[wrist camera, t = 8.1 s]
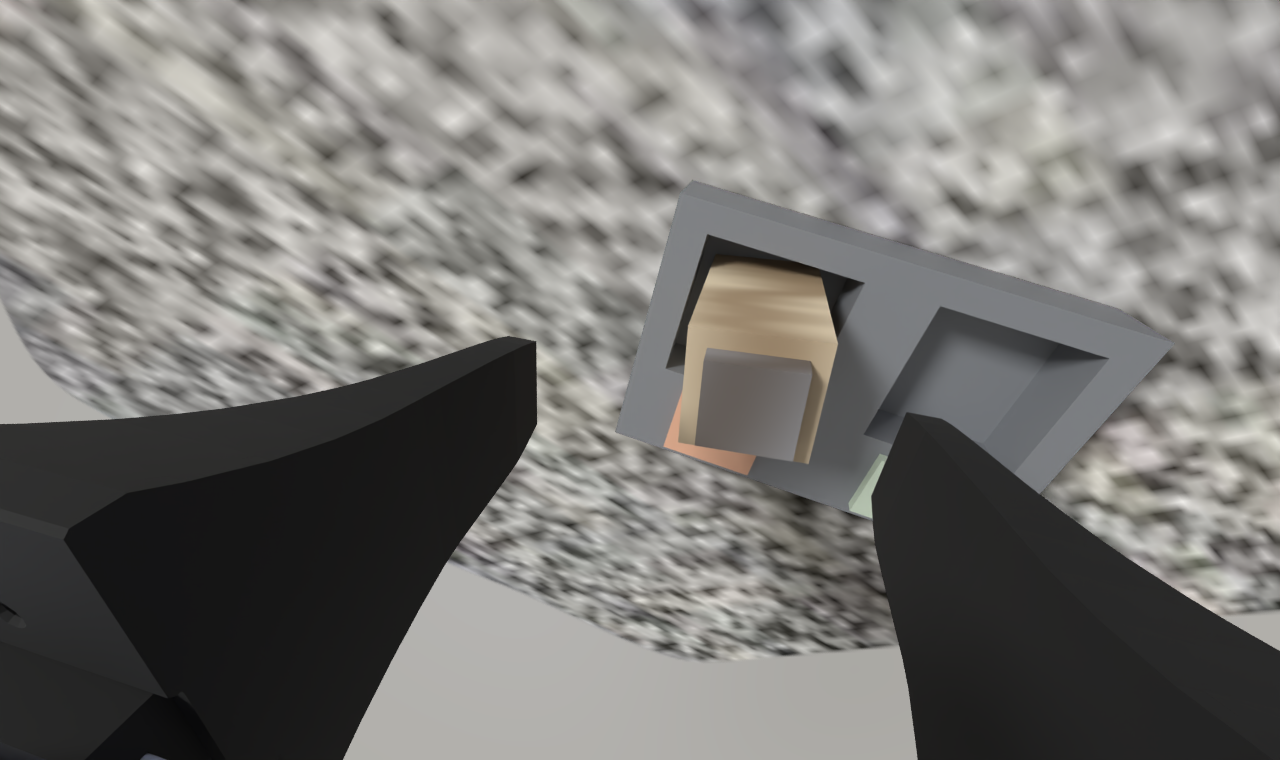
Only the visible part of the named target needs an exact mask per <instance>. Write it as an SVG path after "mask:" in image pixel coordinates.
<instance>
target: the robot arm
mask: <svg viewBox="0 0 1280 760" xmlns="http://www.w3.org/2000/svg"><path fill="white" fill-rule="evenodd" d="M536 425H537V373H536V341H531V340H526V339H521V338H516V337H510V336H507V337H502V338H497V339H494V340H490V341H487V342H484V343H481V344H477V345H474V346H471V347H469V348H466V349H463V350H460V351H457V352H454V353H451V354H448V355H445V356H442V357H439V358H436V359H434V360H431V361H428V362H425V363H422V364H419V365H415V366H412V367H409V368H406V369H402V370H399V371H396V372H393V373H389V374H386V375H383V376H379V377H376V378H373V379H370V380H366V381H362V382H359V383H355V384H351V385H347V386H343V387H339V388H334V389H330V390H325V391H321V392H316V393H312V394H307V395H302V396H297V397H292V398H286V399H280V400H274V401H268V402H261V403H255V404H249V405H243V406H237V407H231V408H224V409H216V410H208V411H199V412H190V413H182V414H171V415H160V416H150V417H139V418H125V419H111V420H92V421H70V422H51V423H50V422H49V423H28V424H0V760H343V758H344V756H345V754H346V752H347V750H348V748H349V745H350V743H351V741H352V739H353V737H354V735H355V733H356V731H357V729H358V726H359V724H360V722H361V720H362V718H363V716H364V714H365V712H366V710H367V708H368V706H369V704H370V702H371V700H372V698H373V696H374V694H375V692H376V690H377V689H378V687H379V685H380V683H381V680H382V678H383V676H384V675H385V673H386V671H387V669H388V667H389V665H390V663H391V661H392V659H393V657H394V655H395V653H396V651H397V649H398V648H399V645H400V644H401V642H402V640H403V639H404V637H405V635H406V633H407V631H408V629H409V627H410V626H411V624H412V622H413V620H414V618H415V616H416V615H417V613H418V611H419V609H420V607H421V606H422V603H423V602H424V600H425V598H426V597H427V595H428V593H429V592H430V590H431V588H432V586H433V585H434V582H435V581H436V579H437V578H438V576H439V574H440V572H441V571H442V569H443V567H444V565H445V564H446V562H447V561H448V559H449V558H450V556H451V555H452V553H453V552H454V550H455V549H456V547H457V546H458V544H459V543H460V541H461V540H462V539H463V537H464V536H465V534H466V533H467V532H468V530H469V529H470V528H471V526H472V525H473V523H474V522H475V521H476V519H477V518H478V517H479V515H480V514H481V512H482V511H483V510H484V508H485V507H486V506H487V504H488V503H489V501H490V500H491V499H492V497H493V496H494V495H495V493H496V492H497V490H498V489H499V488H500V486H501V485H502V483H503V482H504V481H505V479H506V478H507V476H508V475H509V473H510V472H511V471H512V469H513V468H514V466H515V465H516V463H517V462H518V460H519V458H520V456H521V455H522V453H523V451H524V449H525V447H526V445H527V443H528V441H529V439H530V437H531V435H532V433H533V431H534V429H535V427H536ZM871 503H872V518H873V529H874V539H875V546H876V551H877V555H878V559H879V564H880V568H881V572H882V577H883V581H884V585H885V589H886V593H887V597H888V601H889V605H890V609H891V614H892V618H893V622H894V626H895V630H896V634H897V638H898V642H899V646H900V650H901V655H902V659H903V663H904V668H905V673H906V679H907V684H908V688H909V696H910V703H911V711H912V719H913V726H914V734H915V741H916V749H917V757H918V760H1280V651H1279V650H1277V649H1275V648H1273V647H1272V646H1270V645H1268V644H1266V643H1265V642H1263V641H1261V640H1259V639H1258V638H1256V637H1254V636H1252V635H1250V634H1249V633H1247V632H1245V631H1244V630H1242V629H1240V628H1239V627H1237V626H1235V625H1233V624H1232V623H1230V622H1228V621H1226V620H1225V619H1223V618H1221V617H1220V616H1218V615H1216V614H1215V613H1213V612H1211V611H1210V610H1208V609H1206V608H1205V607H1203V606H1201V605H1200V604H1198V603H1196V602H1195V601H1193V600H1191V599H1190V598H1188V597H1187V596H1185V595H1183V594H1182V593H1180V592H1179V591H1177V590H1176V589H1174V588H1173V587H1171V586H1169V585H1168V584H1166V583H1165V582H1163V581H1162V580H1160V579H1159V578H1157V577H1156V576H1154V575H1152V574H1151V573H1149V572H1148V571H1146V570H1145V569H1143V568H1142V567H1140V566H1138V565H1137V564H1135V563H1134V562H1132V561H1131V560H1129V559H1128V558H1126V557H1125V556H1123V555H1122V554H1120V553H1119V552H1118V551H1116V550H1115V549H1113V548H1112V547H1110V546H1109V545H1107V544H1106V543H1105V542H1103V541H1102V540H1100V539H1099V538H1098V537H1096V536H1095V535H1093V534H1092V533H1091V532H1089V531H1088V530H1087V529H1085V528H1084V527H1083V526H1081V525H1080V524H1078V523H1077V522H1076V521H1074V520H1073V519H1072V518H1070V517H1069V516H1067V515H1066V514H1065V513H1063V512H1062V511H1061V510H1059V509H1058V508H1057V507H1056V506H1054V505H1053V504H1052V503H1050V502H1049V501H1048V500H1046V499H1045V498H1044V497H1042V496H1041V495H1040V494H1039V493H1037V492H1036V491H1035V490H1034V489H1032V488H1031V487H1030V486H1028V485H1027V484H1026V483H1025V482H1023V481H1022V480H1021V479H1020V478H1018V477H1017V476H1016V475H1015V474H1013V473H1012V472H1011V471H1010V470H1009V469H1007V468H1006V467H1005V466H1004V465H1002V464H1001V463H1000V462H999V461H997V460H996V459H995V458H994V457H992V456H991V455H990V454H989V453H988V452H986V451H985V450H984V449H983V448H981V447H980V446H979V445H978V444H976V443H975V442H974V441H973V440H971V439H970V438H969V437H967V436H966V435H965V434H964V433H962V432H961V431H960V430H958V429H957V428H955V427H954V426H953V425H951V424H950V423H948V422H947V421H945V420H943V419H941V418H936V417H930V416H925V415H920V414H915V413H909V412H906V414H905V417H904V419H903V421H902V424H901V426H900V429H899V431H898V433H897V436H896V438H895V441H894V443H893V445H892V448H891V450H890V452H889V455H888V457H887V460H886V462H885V464H884V467H883V469H882V471H881V474H880V476H879V479H878V481H877V483H876V486H875V488H874V490H873V493H872V495H871Z"/></svg>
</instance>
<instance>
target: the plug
mask: <svg viewBox="0 0 1280 760" xmlns="http://www.w3.org/2000/svg"><path fill="white" fill-rule="evenodd" d="M837 346H838V342H837V338H836V334H835V330H834V326H833V322H832V318H831V314H830V310H829V306H828V302H827V298H826V294H825V290H824V286H823V282H822V278H821V274H820V270H819V268H815V267H812V266H809V265H806V264H802V263H799V262H793V261H783V260H772V259H762V258H751V257H741V256H730V255H720V254H716V255H715V257H714V260H713V263H712V265H711V268H710V270H709V273H708V276H707V278H706V281H705V283H704V286H703V289H702V291H701V294H700V296H699V299H698V302H697V304H696V307H695V309H694V312H693V315H692V317H691V320H690V322H689V325H688V333H687V345H686V356H685V368H684V379H683V391H682V403H681V414H680V426H679V437H678V443H684V444H690V445H695V446H700V447H706V448H713V449H719V450H725V451H731V452H737V453H743V454H749V455H755V456H761V457H767V458H773V459H780V460H786V461H792V462H793V461H794V462H800V463H806V464H809V460H810V456H811V452H812V448H813V444H814V440H815V436H816V432H817V428H818V424H819V419H820V415H821V411H822V407H823V403H824V399H825V395H826V391H827V387H828V383H829V379H830V375H831V371H832V367H833V362H834V358H835V354H836V350H837Z"/></svg>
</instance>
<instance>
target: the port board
mask: <svg viewBox="0 0 1280 760" xmlns="http://www.w3.org/2000/svg"><path fill="white" fill-rule="evenodd" d="M716 254H720V255H730V256H741V257H751V258H762V259H772V260H783V261H793V262H799V263H802V264H806V265H809V266H812V267H815V268H819V270H820V274H821V278H822V282H823V286H824V290H825V294H826V298H827V302H828V306H829V310H830V314H831V318H832V322H833V326H834V330H835V334H836V338H837V342H838V346H837V350H836V354H835V358H834V362H833V367H832V371H831V375H830V379H829V383H828V387H827V391H826V395H825V399H824V403H823V407H822V411H821V415H820V419H819V424H818V428H817V432H816V436H815V440H814V444H813V448H812V452H811V456H810V460H809V464H806V463H800V462H794V461H793V462H792V461H786V460H780V459H773V458H767V457H761V456H755V455H749V454H743V453H737V452H731V451H725V450H719V449H713V448H706V447H700V446H695V445H690V444H684V443H678V437H679V426H680V414H681V403H682V391H683V379H684V368H685V356H686V345H687V333H688V325H689V322H690V320H691V317H692V315H693V312H694V309H695V307H696V304H697V302H698V299H699V296H700V294H701V291H702V289H703V286H704V283H705V281H706V278H707V276H708V273H709V270H710V268H711V265H712V263H713V260H714V257H715V255H716ZM1174 344H1175V343H1174V342H1172V341H1170V340H1169V339H1167V338H1166V337H1164V336H1162V335H1161V334H1159V333H1158V332H1156V331H1154V330H1153V329H1151V328H1149V327H1148V326H1146V325H1145V324H1143V323H1141V322H1140V321H1138V320H1137V319H1135V318H1133V317H1132V316H1130V315H1128V314H1127V313H1125V312H1124V311H1122V310H1120V309H1118V308H1114V307H1111V306H1108V305H1104V304H1101V303H1098V302H1094V301H1091V300H1088V299H1084V298H1081V297H1078V296H1075V295H1071V294H1068V293H1065V292H1061V291H1058V290H1055V289H1051V288H1048V287H1045V286H1041V285H1038V284H1035V283H1031V282H1028V281H1025V280H1021V279H1018V278H1015V277H1012V276H1008V275H1005V274H1002V273H998V272H995V271H992V270H988V269H985V268H982V267H978V266H975V265H972V264H968V263H965V262H962V261H959V260H955V259H952V258H949V257H945V256H942V255H939V254H935V253H932V252H929V251H925V250H922V249H919V248H915V247H912V246H909V245H906V244H902V243H899V242H896V241H892V240H889V239H886V238H882V237H879V236H876V235H872V234H869V233H866V232H862V231H859V230H856V229H853V228H849V227H846V226H843V225H839V224H836V223H833V222H829V221H826V220H823V219H819V218H816V217H813V216H809V215H806V214H803V213H800V212H796V211H793V210H790V209H786V208H783V207H780V206H776V205H773V204H770V203H766V202H763V201H760V200H756V199H753V198H750V197H747V196H743V195H740V194H737V193H733V192H730V191H727V190H723V189H720V188H717V187H713V186H710V185H707V184H703V183H700V182H697V181H694V180H693V181H692V182H691V183H690V184H689V185H688V186H687V187H686V188H685V189H684V190H683V191H682V192H681V193H680V196H679V200H678V203H677V207H676V211H675V214H674V218H673V222H672V225H671V229H670V233H669V236H668V240H667V244H666V247H665V251H664V255H663V258H662V262H661V266H660V269H659V273H658V277H657V280H656V284H655V288H654V291H653V295H652V299H651V302H650V306H649V310H648V314H647V317H646V321H645V325H644V328H643V332H642V336H641V339H640V343H639V347H638V350H637V354H636V358H635V361H634V365H633V369H632V372H631V376H630V380H629V383H628V387H627V391H626V394H625V398H624V402H623V405H622V409H621V413H620V416H619V420H618V424H617V427H616V431H615V432H616V433H619V434H622V435H625V436H628V437H631V438H634V439H637V440H640V441H642V442H645V443H648V444H651V445H654V446H657V447H660V448H663V449H666V450H668V451H671V452H674V453H677V454H680V455H683V456H686V457H689V458H692V459H695V460H697V461H700V462H703V463H706V464H709V465H712V466H715V467H718V468H721V469H724V470H726V471H729V472H732V473H735V474H738V475H741V476H744V477H747V478H750V479H753V480H755V481H758V482H761V483H764V484H767V485H770V486H773V487H776V488H779V489H782V490H784V491H787V492H790V493H793V494H796V495H799V496H802V497H805V498H808V499H811V500H813V501H816V502H819V503H822V504H825V505H828V506H831V507H834V508H837V509H839V510H842V511H845V512H848V513H851V514H854V515H857V516H860V517H863V518H866V519H868V520H871V521H873V518H872V503H871V495H872V493H873V490H874V488H875V486H876V483H877V481H878V479H879V476H880V474H881V471H882V469H883V467H884V464H885V462H886V460H887V457H888V455H889V452H890V450H891V448H892V445H893V443H894V441H895V438H896V436H897V433H898V431H899V429H900V426H901V424H902V421H903V419H904V417H905V414H906V412H909V413H915V414H920V415H925V416H930V417H936V418H941V419H943V420H945V421H947V422H948V423H950V424H951V425H953V426H954V427H955V428H957V429H958V430H960V431H961V432H962V433H964V434H965V435H966V436H967V437H969V438H970V439H971V440H973V441H974V442H975V443H976V444H978V445H979V446H980V447H981V448H983V449H984V450H985V451H986V452H988V453H989V454H990V455H991V456H992V457H994V458H995V459H996V460H997V461H999V462H1000V463H1001V464H1002V465H1004V466H1005V467H1006V468H1007V469H1009V470H1010V471H1011V472H1012V473H1013V474H1015V475H1016V476H1017V477H1018V478H1020V479H1021V480H1022V481H1023V482H1025V483H1026V484H1027V485H1028V486H1030V487H1031V488H1032V489H1034V490H1035V491H1036V492H1037V493H1039V494H1040V493H1041V492H1042V491H1043V490H1044V489H1045V488H1046V486H1047V485H1048V484H1049V483H1050V482H1051V481H1052V480H1053V479H1054V477H1055V476H1056V475H1057V474H1058V473H1059V472H1060V471H1061V470H1062V469H1063V467H1064V466H1065V465H1066V464H1067V463H1068V462H1069V461H1070V460H1071V459H1072V457H1073V456H1074V455H1075V454H1076V453H1077V452H1078V451H1079V450H1080V448H1081V447H1082V446H1083V445H1084V444H1085V443H1086V442H1087V441H1088V440H1089V438H1090V437H1091V436H1092V435H1093V434H1094V433H1095V432H1096V431H1097V429H1098V428H1099V427H1100V426H1101V425H1102V424H1103V423H1104V422H1105V421H1106V419H1107V418H1108V417H1109V416H1110V415H1111V414H1112V413H1113V412H1114V411H1115V409H1116V408H1117V407H1118V406H1119V405H1120V404H1121V403H1122V402H1123V400H1124V399H1125V398H1126V397H1127V396H1128V395H1129V394H1130V393H1131V392H1132V390H1133V389H1134V388H1135V387H1136V386H1137V385H1138V384H1139V383H1140V382H1141V380H1142V379H1143V378H1144V377H1145V376H1146V375H1147V374H1148V373H1149V371H1150V370H1151V369H1152V368H1153V367H1154V366H1155V365H1156V364H1157V363H1158V361H1159V360H1160V359H1161V358H1162V357H1163V356H1164V355H1165V354H1166V353H1167V351H1168V350H1169V349H1170V348H1171V347H1172V346H1173V345H1174Z"/></svg>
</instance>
